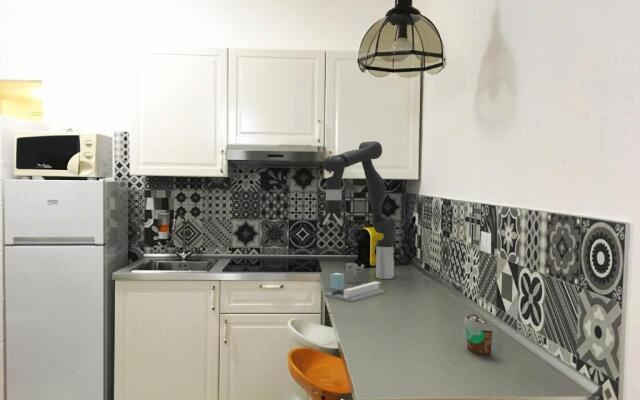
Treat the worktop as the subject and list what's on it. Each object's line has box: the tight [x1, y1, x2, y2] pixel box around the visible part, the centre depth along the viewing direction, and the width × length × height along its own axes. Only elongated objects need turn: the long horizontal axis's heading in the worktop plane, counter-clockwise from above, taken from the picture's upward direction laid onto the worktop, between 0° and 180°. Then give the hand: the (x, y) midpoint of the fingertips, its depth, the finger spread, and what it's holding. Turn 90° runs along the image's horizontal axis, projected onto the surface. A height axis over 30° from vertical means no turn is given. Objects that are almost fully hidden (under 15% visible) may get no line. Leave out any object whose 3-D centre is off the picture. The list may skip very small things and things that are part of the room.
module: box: [329, 272, 345, 291], centre depth 227 cm, size 5×4×7 cm
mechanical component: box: [343, 262, 365, 285], centre depth 239 cm, size 3×10×10 cm, turn 78°
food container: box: [463, 312, 494, 357], centre depth 144 cm, size 12×6×10 cm, turn 5°
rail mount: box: [324, 281, 385, 303], centre depth 215 cm, size 24×16×5 cm, turn 138°
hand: (333, 233), depth 221 cm, fingers open, 8 cm apart
